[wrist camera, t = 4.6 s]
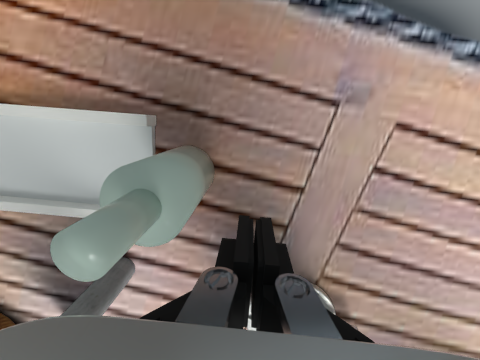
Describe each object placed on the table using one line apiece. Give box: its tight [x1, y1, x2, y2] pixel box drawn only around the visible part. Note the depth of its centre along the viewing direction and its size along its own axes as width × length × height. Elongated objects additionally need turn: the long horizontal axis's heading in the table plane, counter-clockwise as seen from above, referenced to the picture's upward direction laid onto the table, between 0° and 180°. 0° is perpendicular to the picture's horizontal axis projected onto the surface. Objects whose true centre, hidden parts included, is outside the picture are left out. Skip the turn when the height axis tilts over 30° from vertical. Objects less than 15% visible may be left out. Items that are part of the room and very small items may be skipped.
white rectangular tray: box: [0, 104, 156, 218], centre depth 27 cm, size 23×13×2 cm, turn 86°
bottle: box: [50, 145, 215, 282], centre depth 19 cm, size 6×6×18 cm
